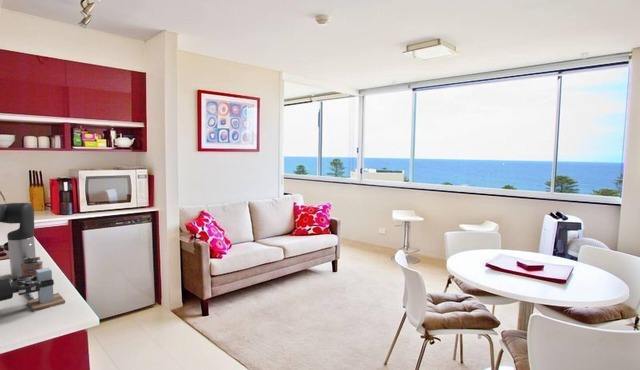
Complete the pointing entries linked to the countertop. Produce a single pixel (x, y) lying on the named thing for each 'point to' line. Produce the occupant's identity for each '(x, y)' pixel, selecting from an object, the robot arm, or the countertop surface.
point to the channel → (31, 296)
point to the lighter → (31, 266)
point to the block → (45, 292)
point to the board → (37, 305)
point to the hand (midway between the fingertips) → (50, 278)
